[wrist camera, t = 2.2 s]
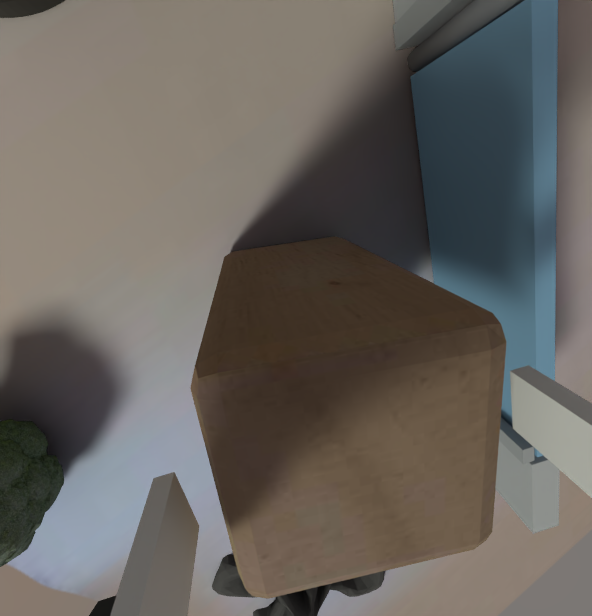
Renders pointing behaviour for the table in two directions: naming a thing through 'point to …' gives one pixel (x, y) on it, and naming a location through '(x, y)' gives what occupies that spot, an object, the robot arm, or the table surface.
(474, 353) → the wooden block
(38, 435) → the vegetable
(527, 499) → the wall frame
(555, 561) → the table surface
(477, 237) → the door
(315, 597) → the cloth
